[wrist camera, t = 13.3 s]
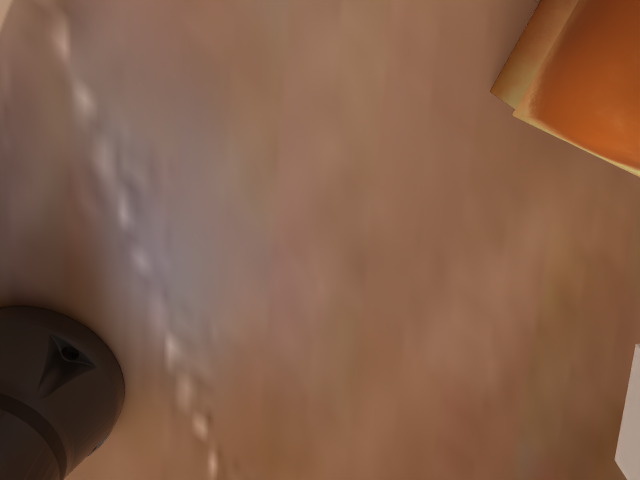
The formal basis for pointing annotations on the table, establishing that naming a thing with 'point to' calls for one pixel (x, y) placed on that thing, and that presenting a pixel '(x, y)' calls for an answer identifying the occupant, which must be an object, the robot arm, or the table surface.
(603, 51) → the bread
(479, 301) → the table surface
